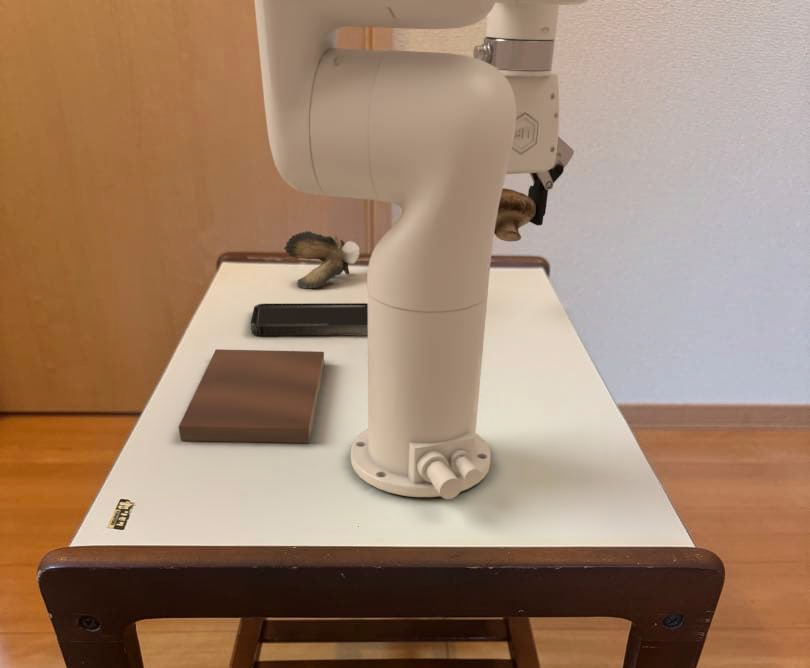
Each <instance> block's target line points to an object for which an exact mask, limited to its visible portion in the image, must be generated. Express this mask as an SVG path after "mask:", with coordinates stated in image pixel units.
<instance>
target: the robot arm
mask: <svg viewBox="0 0 810 668" xmlns="http://www.w3.org/2000/svg"><path fill="white" fill-rule="evenodd" d="M253 2H254V11H255V12H254V13H255V20H256V21H255V22H256V23H255V24H256V33H257V44H258V51H259V62H260V71H261V82H262V92H263V93H262V94H263V103H264V112H265V121H266V128H267V129H266V131H267V137H268V142H269V147H270V148H269V149H270V152H271V156H272V160H273V163H274V165H275V169H276V171H277V172H278V173H279V175H280V177H281V178H282V179H283V181H284V182H285V183H286V184H287V185H289V187H291V188H293V189H294V190H296V191H299V192H302V193H306V194H310V195H316V196H323V197H333V198H335V197H336V198H345V199H356V200H357V199H358V200H367V201H379V202H382V203H388V204H393V205H397V206H398V207H400V208H401V214H400V215H399V217H398V218H397V220H396V221H395V222H394V224H393V225H392V226H391V227H390V228H389V229H388V230H387V231H386V232H385V233H384V234H383V235H382V237H380V239H379V241H378V242H377V243H376V245H375V247H374V249H373V250H372V252H371V255H370V258H369V261H368V266H367V273H366V275H367V276H366V277H367V278H366V282H367V283H366V290H367V303H368V335H367V429H366V430H364V431H362V432H361V433H360V434H359V435H358V436H357V437H356V438H355V439H354V441H353V443H352V444H351V449H350V463H351V465H352V467H353V468H352V469H353V471H354V472H355V474H356V475H357V476H358V477H359V478H360V479H362V480H363V481H364V482H365V483H367V484H368V485H370V486H372V487H374V488H376V489H378V490H380V491H384V492H387V493H388V494H394V495H399V496H402V497H413V498H436V497H437V498H438V497H441V498H442V499H445V500H453V499H454V498H456V497H458V495H459V494H460V493H461V492H463V491H467V490H469V489H471V488H472V487H475V486H476V485H477V484H479V483H480V482H481V481H482V480H483V479H485V478H486V476H487V474H488V473H489V472H490V466H491V458H492V452H491V449H490V446H489V445H488V443H487V442H486V441H485V440H484V438H482V437H481V436H480V435H479V434H478V433H477V421H478V409H479V398H480V388H481V387H480V386H481V378H482V377H481V375H482V363H483V353H484V341H485V331H486V330H485V329H486V317H487V308H488V307H487V306H488V296H489V283H490V273H491V263H492V254H493V245H494V237H495V234H494V231H495V224H496V218H497V213H498V208H499V202H500V198H501V193H502V189H503V188H504V184H505V180H506V175H518V174H529V175H530V176H529V177H530V178H531V181H532V182H533V183H532V184H533V185H529V188H528V192H527V196H528V197H530V198H531V199H532V200H533V201H534V203H535V206H536V214H535V216H534V218H533V219H532V220H531V221H530V222H529V223H530V224H533V225H535V226H542V225H543V223H544V217H545V215H546V210H547V203H548V195H549V191H551V190H552V189H553V188H554V183H555V182H556V181H558V179H559V178H560V177H561V176H562V175H563V173H564V170H565V168H566V167H567V166H568V164H569V163H570V161H571V159H572V158H573V156H574V155H575V154H574V152H575V151H574V149H573V148H572V147H571V146H570V145H569V144H568V143H567V142H566V141H564V140H563V139H562V138H561V137H560V136H559V127H560V126H559V124H560V86H559V76H558V75H559V74H557V73H552V68H553V58H554V49H555V40H556V35H557V34H556V33H557V25H558V17H559V9H560V6H579V5H582V4H585V3H587V2H589V0H254V1H253ZM485 18H486V26H485V37H484V38H483V43H482V44H481V45H475V46H474V48H473V57H471V56H469V55H465V54H464V55H463V54H456V53H450V52H432V51H416V50H415V51H411V50H392V49H388V50H378V49H377V50H376V49H361V48H360V49H357V48H356V49H355V48H340V47H337V46H338V45H337V44H338V43H337V42H338V33H339V29H340V28H343V27H359V28H382V29H383V28H385V29H408V30H409V29H410V30H447V29H448V30H449V29H462V28H466V27H470V26H473V25H475V24H477V23H479V22H481V21H483V20H484V19H485Z"/></svg>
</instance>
